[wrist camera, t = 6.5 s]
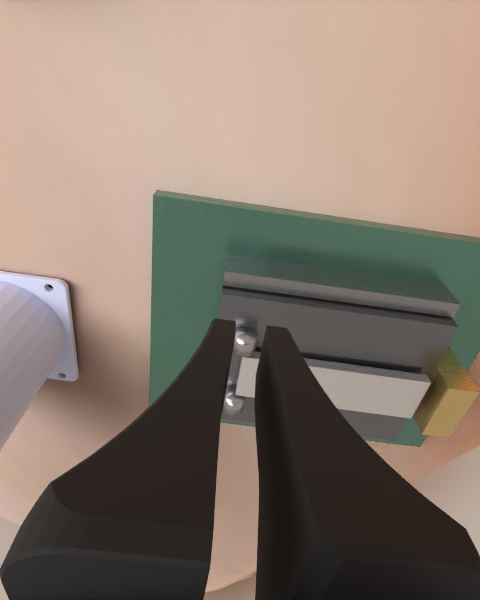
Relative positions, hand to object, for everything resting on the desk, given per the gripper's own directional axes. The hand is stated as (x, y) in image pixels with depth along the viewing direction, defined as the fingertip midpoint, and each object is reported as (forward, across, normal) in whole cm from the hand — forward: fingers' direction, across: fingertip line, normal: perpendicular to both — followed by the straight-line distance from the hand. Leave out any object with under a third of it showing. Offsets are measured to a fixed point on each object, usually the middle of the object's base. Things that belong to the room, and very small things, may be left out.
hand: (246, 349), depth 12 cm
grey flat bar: (+7, -6, +7) cm, 11 cm away
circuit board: (+10, -5, +7) cm, 13 cm away
